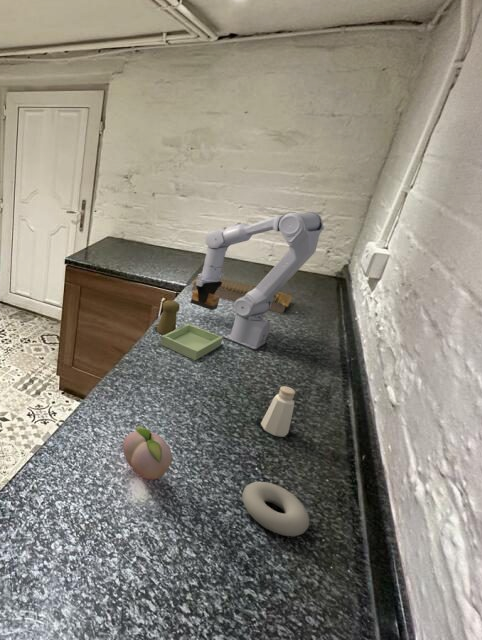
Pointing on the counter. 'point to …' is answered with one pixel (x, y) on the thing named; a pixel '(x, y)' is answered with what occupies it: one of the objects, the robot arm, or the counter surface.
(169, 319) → the pepper mill
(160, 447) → the decorative fruit
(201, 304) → the orange brown rectangular block
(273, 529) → the donut
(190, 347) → the tray
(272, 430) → the salt shaker
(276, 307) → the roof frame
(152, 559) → the counter surface
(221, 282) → the robot arm
